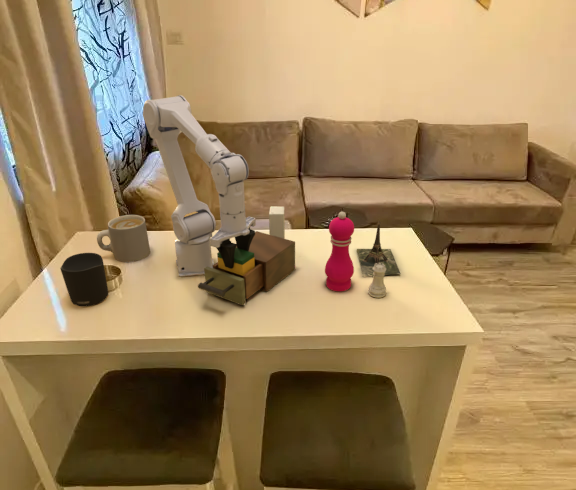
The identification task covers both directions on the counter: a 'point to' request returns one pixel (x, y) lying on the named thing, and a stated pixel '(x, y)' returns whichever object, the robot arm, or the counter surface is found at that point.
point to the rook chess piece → (378, 282)
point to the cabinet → (273, 257)
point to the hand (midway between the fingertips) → (236, 262)
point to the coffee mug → (126, 238)
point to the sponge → (239, 262)
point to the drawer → (233, 283)
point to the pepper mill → (340, 254)
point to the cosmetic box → (277, 221)
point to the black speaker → (85, 279)
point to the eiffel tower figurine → (377, 258)
